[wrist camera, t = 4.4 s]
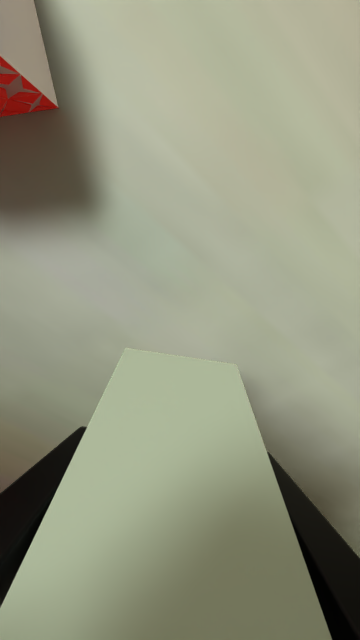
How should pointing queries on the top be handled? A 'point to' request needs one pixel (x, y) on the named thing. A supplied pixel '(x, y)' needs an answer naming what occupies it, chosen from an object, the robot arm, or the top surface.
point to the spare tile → (166, 521)
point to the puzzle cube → (23, 61)
